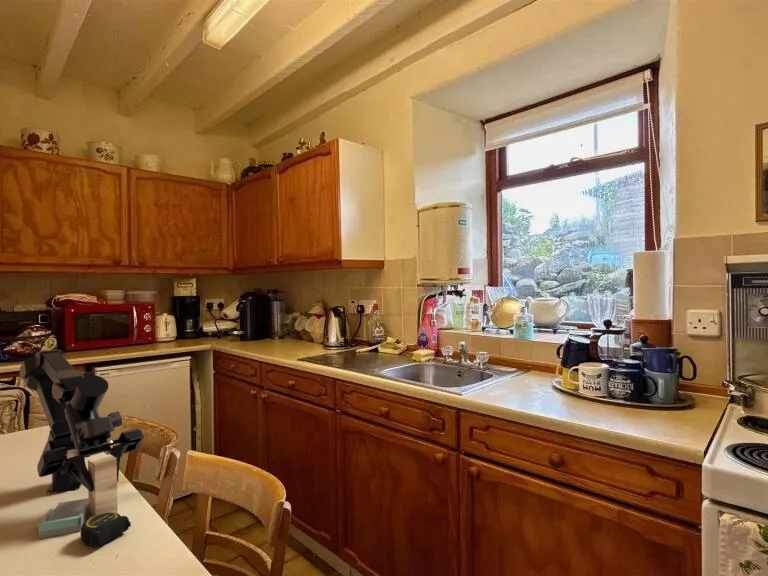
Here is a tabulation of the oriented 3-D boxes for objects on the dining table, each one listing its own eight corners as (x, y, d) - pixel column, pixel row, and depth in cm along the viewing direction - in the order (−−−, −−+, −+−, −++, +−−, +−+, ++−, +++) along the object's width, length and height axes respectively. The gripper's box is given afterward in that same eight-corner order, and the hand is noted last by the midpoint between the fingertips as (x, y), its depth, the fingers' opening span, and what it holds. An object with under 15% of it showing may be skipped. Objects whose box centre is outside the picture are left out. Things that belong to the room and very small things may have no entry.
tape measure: (95, 553, 79) (95, 533, 79) (72, 544, 82) (72, 524, 82) (131, 534, 85) (131, 515, 85) (108, 525, 88) (108, 507, 88)
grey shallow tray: (58, 508, 95) (58, 495, 95) (95, 502, 97) (95, 490, 97) (39, 538, 84) (39, 524, 84) (81, 530, 86) (81, 517, 86)
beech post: (88, 516, 92) (87, 459, 91) (110, 508, 95) (109, 453, 94) (95, 523, 89) (95, 464, 89) (117, 514, 92) (116, 458, 92)
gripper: (40, 412, 87) (59, 483, 80) (140, 393, 101) (163, 452, 95) (29, 442, 92) (46, 512, 85) (126, 420, 106) (146, 478, 100)
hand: (104, 486), depth 91 cm, fingers open, 4 cm apart
